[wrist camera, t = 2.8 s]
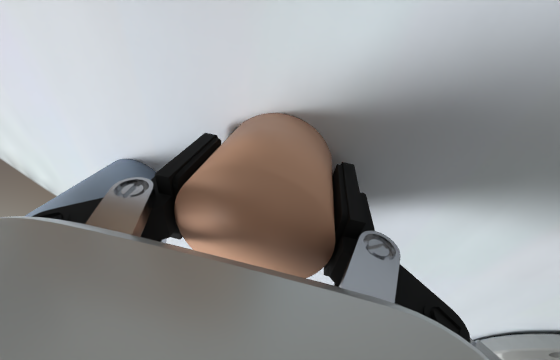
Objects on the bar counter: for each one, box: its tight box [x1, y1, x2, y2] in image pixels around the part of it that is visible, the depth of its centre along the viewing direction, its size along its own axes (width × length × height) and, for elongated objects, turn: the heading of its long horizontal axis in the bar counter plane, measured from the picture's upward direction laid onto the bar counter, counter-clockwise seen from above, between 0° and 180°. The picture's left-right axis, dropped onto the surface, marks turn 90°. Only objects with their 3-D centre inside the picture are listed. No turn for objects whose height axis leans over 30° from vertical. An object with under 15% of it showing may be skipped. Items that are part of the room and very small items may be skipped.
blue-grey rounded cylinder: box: [24, 159, 157, 217], centre depth 13 cm, size 4×4×5 cm
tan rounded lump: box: [174, 113, 335, 278], centre depth 10 cm, size 6×6×5 cm
